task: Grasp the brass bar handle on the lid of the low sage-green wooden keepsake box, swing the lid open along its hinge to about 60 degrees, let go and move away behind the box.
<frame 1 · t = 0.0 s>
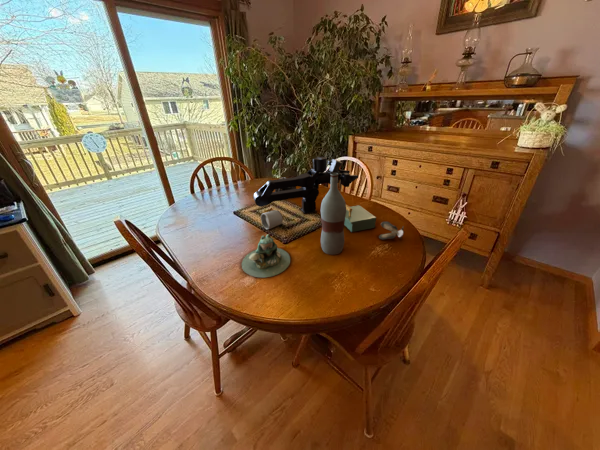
hand: (353, 174, 123), 17 cm above the table, tool horizontal, fingers open, 9 cm apart
eagle figurine: (390, 238, 98), on the table
box lid: (355, 209, 107), point 7 cm above the table, hinge at 0.0°
frog figurine: (266, 261, 87), on the table
bottle: (332, 249, 93), on the table
keepsake box: (355, 222, 111), on the table
ceramic mug: (270, 225, 112), on the table
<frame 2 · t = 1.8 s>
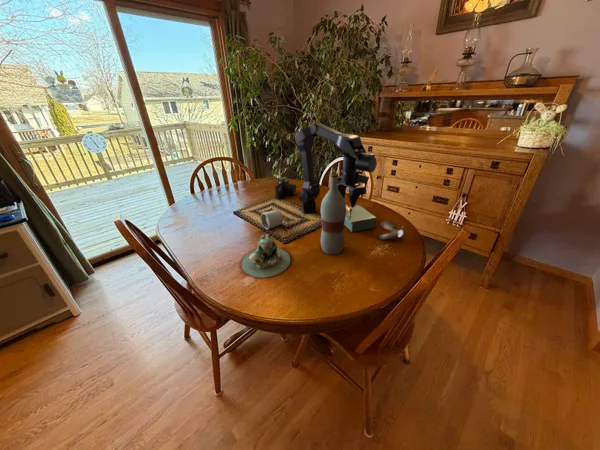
hand: (347, 203, 105), 11 cm above the table, tool pointing down, fingers open, 9 cm apart
nothing on the table moved.
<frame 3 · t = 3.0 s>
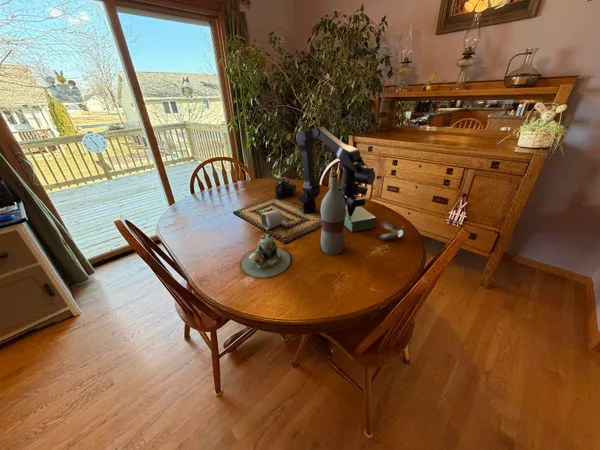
hand: (347, 213, 107), 6 cm above the table, tool pointing down, fingers closed on box lid, 6 cm apart
box lid: (355, 209, 107), point 7 cm above the table, hinge at 0.0°, touching gripper
everything else where it was.
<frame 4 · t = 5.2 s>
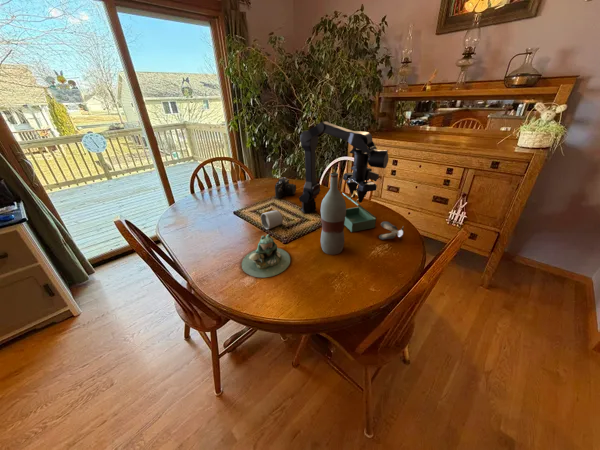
hand: (356, 200, 105), 11 cm above the table, tool pointing down, fingers closed on box lid, 6 cm apart
box lid: (361, 201, 106), point 10 cm above the table, hinge at 39.9°, touching gripper
everything else where it was.
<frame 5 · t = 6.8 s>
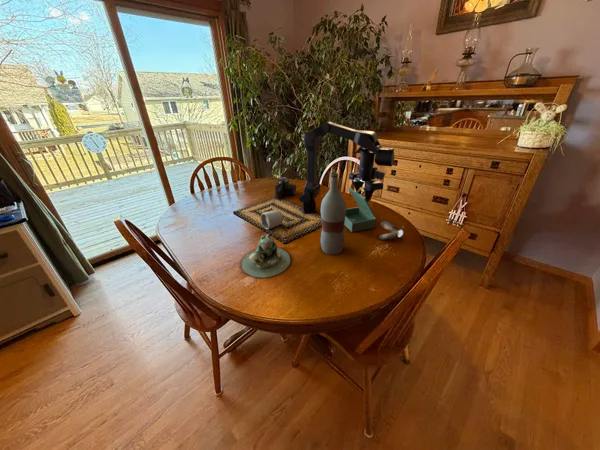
hand: (363, 198, 106), 11 cm above the table, tool pointing down, fingers open, 7 cm apart
box lid: (365, 199, 107), point 11 cm above the table, hinge at 56.9°
everything else where it was.
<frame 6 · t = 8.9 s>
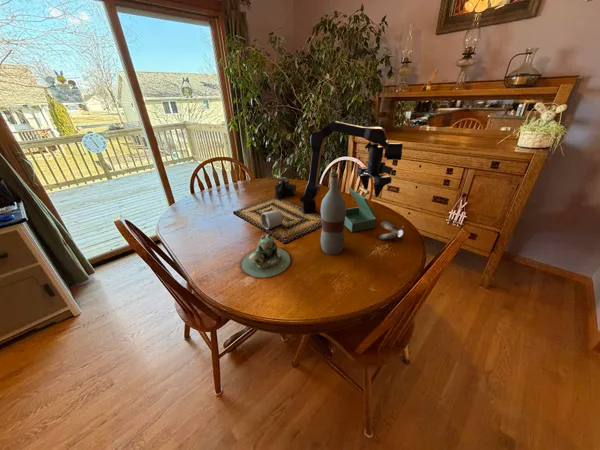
hand: (371, 193, 109), 13 cm above the table, tool pointing down, fingers open, 9 cm apart
nothing on the table moved.
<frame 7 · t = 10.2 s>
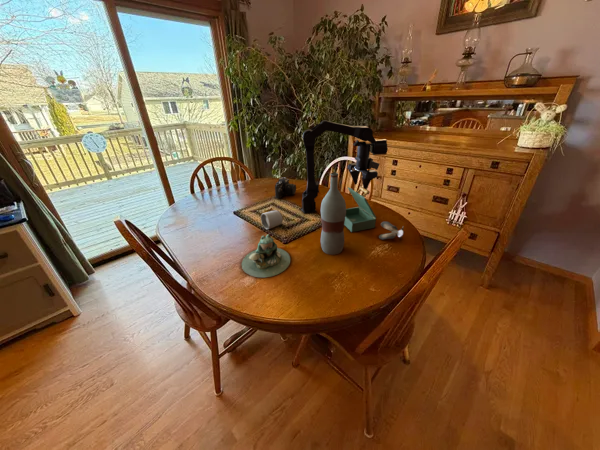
hand: (360, 187, 118), 12 cm above the table, tool pointing down, fingers open, 9 cm apart
nothing on the table moved.
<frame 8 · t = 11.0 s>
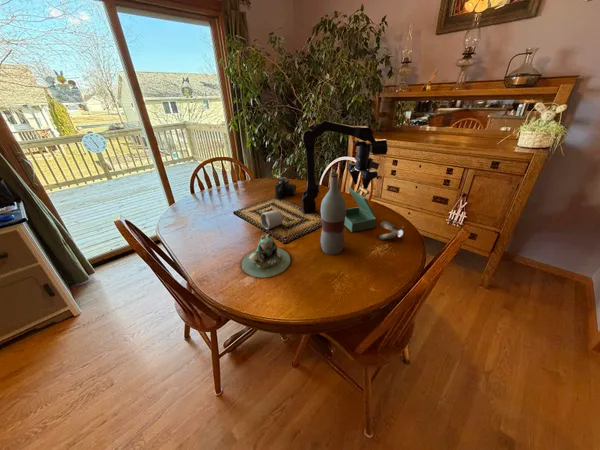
hand: (360, 187, 118), 12 cm above the table, tool pointing down, fingers open, 9 cm apart
nothing on the table moved.
at the end: box lid at +57° (first picture: +0°); the gripper is holding nothing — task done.
